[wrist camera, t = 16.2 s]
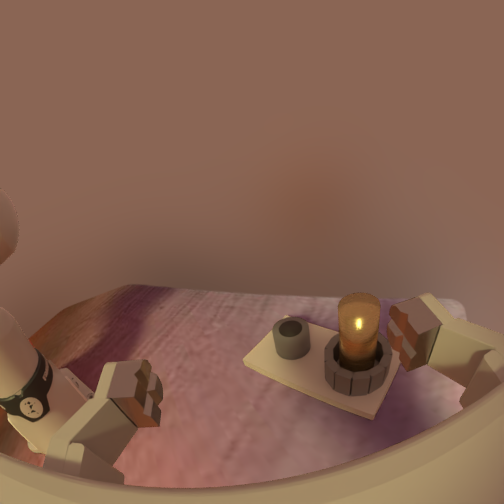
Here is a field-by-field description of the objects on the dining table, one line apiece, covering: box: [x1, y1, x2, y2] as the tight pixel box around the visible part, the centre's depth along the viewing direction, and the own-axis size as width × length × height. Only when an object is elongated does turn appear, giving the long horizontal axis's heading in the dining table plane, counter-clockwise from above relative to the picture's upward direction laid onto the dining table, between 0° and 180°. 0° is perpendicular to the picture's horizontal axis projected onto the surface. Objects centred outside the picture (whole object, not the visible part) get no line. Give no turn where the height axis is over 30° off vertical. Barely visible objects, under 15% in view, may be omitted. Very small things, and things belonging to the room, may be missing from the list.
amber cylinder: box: [338, 293, 380, 372], centre depth 33 cm, size 5×5×12 cm
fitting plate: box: [243, 315, 401, 420], centre depth 39 cm, size 22×12×6 cm, turn 51°
